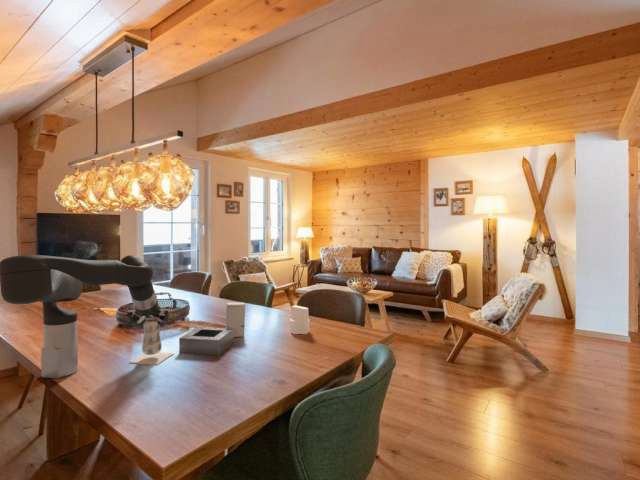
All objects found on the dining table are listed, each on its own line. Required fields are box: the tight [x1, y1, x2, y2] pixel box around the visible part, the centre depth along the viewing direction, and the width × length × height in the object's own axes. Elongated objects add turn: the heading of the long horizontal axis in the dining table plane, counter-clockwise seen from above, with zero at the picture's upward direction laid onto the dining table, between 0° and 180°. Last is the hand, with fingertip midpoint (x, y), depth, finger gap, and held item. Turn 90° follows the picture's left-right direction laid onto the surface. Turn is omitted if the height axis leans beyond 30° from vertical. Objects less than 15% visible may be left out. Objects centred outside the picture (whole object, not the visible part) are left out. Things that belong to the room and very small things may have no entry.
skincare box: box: [225, 301, 246, 338], centre depth 167 cm, size 8×6×15 cm
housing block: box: [178, 326, 235, 357], centre depth 150 cm, size 16×16×6 cm
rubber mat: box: [128, 351, 175, 366], centre depth 137 cm, size 11×11×1 cm
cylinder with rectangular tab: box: [289, 304, 310, 335], centre depth 173 cm, size 9×9×12 cm
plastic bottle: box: [141, 318, 162, 355], centre depth 136 cm, size 6×7×20 cm
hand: (152, 325), depth 138 cm, fingers closed on plastic bottle, 6 cm apart
